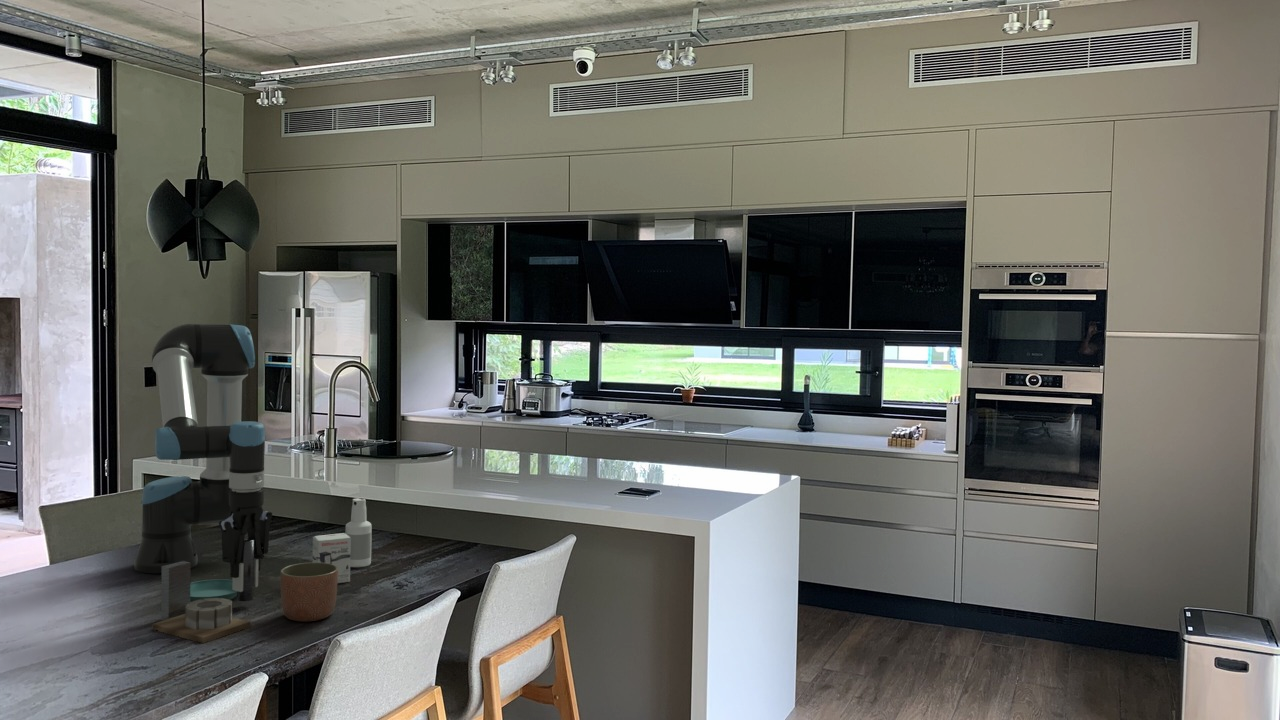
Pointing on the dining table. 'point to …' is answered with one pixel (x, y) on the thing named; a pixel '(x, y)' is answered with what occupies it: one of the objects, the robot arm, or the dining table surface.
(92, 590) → the dining table surface
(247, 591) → the cylinder
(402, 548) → the dining table surface
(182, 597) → the grey rectangular block
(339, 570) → the ink box
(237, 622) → the socket board
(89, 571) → the dining table surface
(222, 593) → the saucer
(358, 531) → the spray bottle
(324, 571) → the planter
